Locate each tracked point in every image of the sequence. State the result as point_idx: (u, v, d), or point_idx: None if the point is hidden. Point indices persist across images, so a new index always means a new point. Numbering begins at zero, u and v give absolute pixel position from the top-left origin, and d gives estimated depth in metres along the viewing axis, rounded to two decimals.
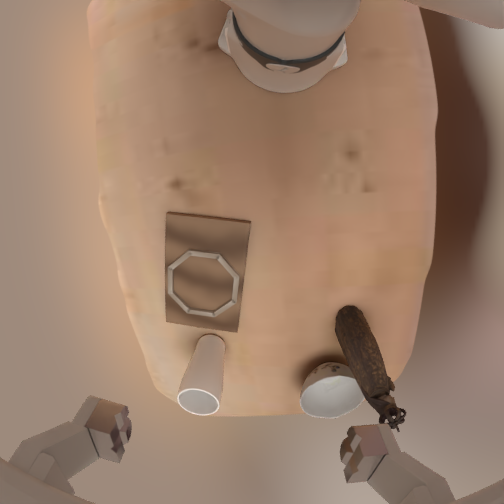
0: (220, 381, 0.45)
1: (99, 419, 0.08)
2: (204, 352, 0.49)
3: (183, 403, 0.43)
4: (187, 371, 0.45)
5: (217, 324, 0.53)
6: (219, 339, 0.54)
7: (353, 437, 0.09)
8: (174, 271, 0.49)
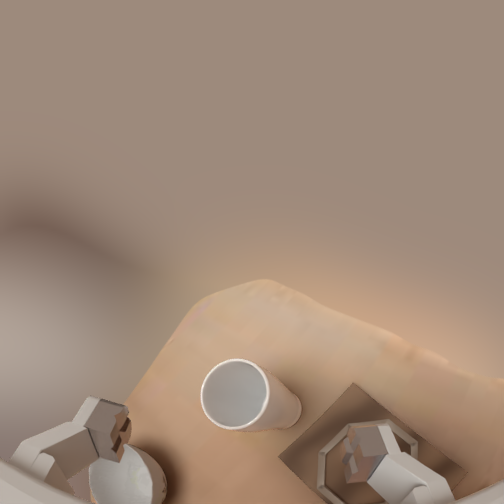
0: None
1: (99, 419, 0.08)
2: (288, 419, 0.29)
3: (244, 363, 0.26)
4: (284, 397, 0.27)
5: (304, 443, 0.31)
6: (283, 428, 0.33)
7: (353, 437, 0.09)
8: (406, 443, 0.26)
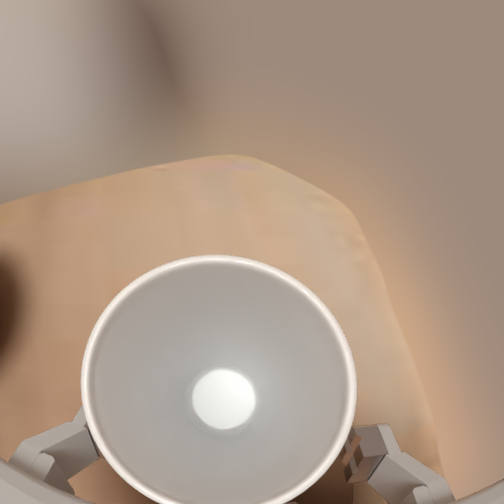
0: None
1: None
2: None
3: (310, 318, 0.08)
4: None
5: None
6: None
7: (353, 437, 0.09)
8: None
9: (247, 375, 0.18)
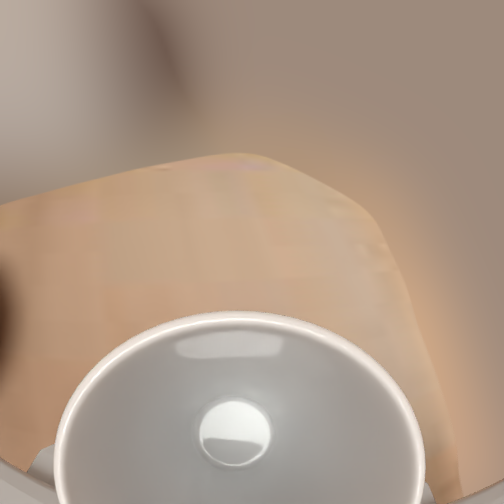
0: None
1: None
2: None
3: (368, 392, 0.05)
4: None
5: None
6: None
7: None
8: None
9: (261, 406, 0.16)
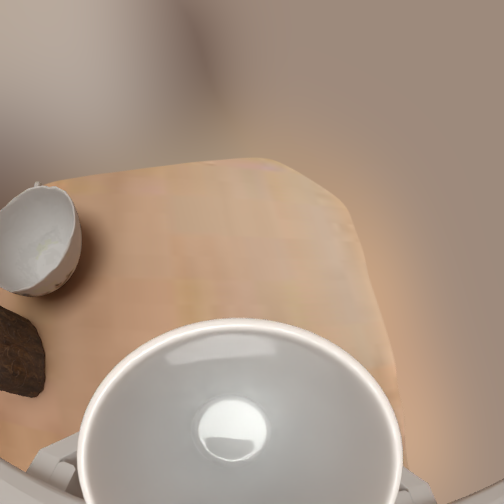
0: None
1: None
2: None
3: (349, 385, 0.06)
4: None
5: None
6: None
7: None
8: None
9: (257, 403, 0.17)
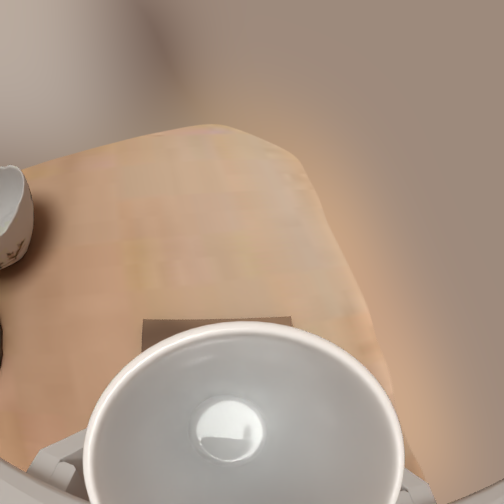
0: None
1: None
2: None
3: (352, 387, 0.06)
4: None
5: None
6: None
7: None
8: None
9: (253, 403, 0.17)
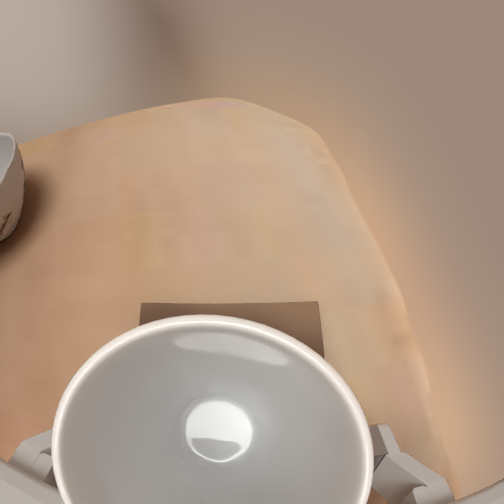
0: None
1: None
2: None
3: (319, 385, 0.06)
4: None
5: None
6: None
7: None
8: None
9: (243, 404, 0.17)
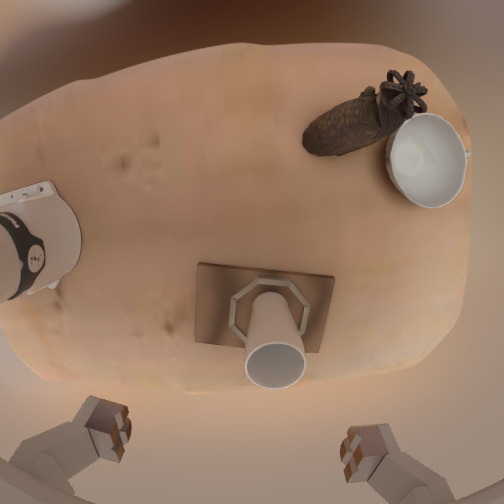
0: (262, 325, 0.34)
1: (99, 419, 0.08)
2: None
3: (288, 381, 0.32)
4: None
5: (323, 300, 0.45)
6: (255, 299, 0.44)
7: (353, 437, 0.09)
8: None
9: None
